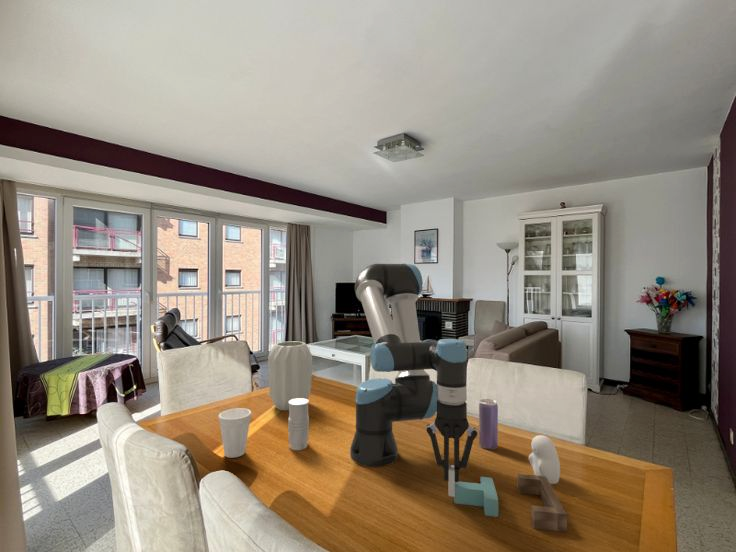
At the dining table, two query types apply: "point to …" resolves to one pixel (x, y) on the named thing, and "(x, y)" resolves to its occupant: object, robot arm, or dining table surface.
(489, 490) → the t block
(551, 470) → the figurine
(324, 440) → the dining table surface
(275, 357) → the vase
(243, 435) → the cup
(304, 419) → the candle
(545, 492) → the bracket
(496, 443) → the beverage can
